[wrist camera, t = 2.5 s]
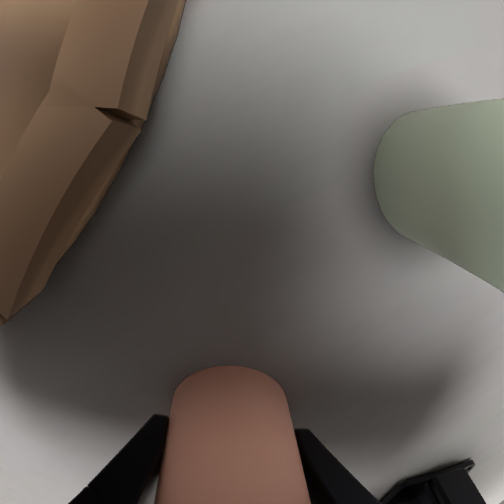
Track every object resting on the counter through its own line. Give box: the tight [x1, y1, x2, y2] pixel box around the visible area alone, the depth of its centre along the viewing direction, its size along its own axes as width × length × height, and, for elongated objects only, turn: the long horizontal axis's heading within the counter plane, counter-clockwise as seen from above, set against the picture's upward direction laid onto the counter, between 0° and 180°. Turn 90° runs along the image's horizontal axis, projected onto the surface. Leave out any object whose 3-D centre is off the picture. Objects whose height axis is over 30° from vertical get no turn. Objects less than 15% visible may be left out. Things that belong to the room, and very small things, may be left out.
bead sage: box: [374, 99, 504, 292], centre depth 5 cm, size 4×4×5 cm
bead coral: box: [154, 366, 311, 504], centre depth 6 cm, size 4×4×5 cm
